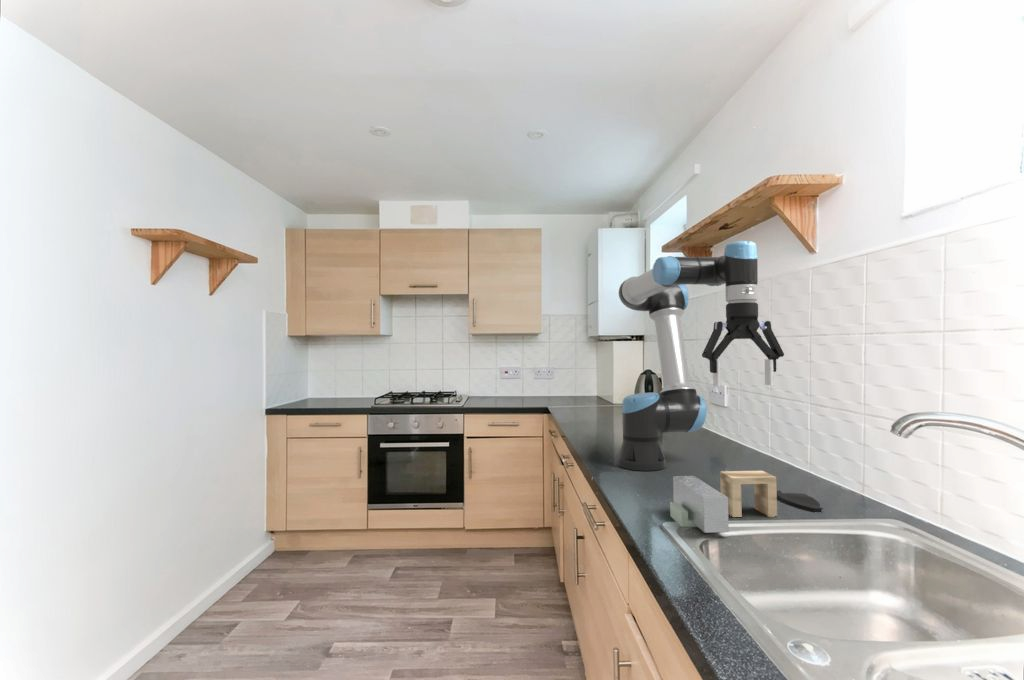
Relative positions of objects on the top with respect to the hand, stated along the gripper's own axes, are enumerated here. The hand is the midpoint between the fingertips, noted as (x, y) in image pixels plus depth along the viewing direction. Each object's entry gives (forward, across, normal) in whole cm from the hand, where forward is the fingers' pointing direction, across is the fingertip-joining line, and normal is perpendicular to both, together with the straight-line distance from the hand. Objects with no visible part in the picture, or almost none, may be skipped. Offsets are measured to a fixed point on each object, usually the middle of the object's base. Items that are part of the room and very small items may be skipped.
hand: (743, 385), depth 127 cm
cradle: (+29, -19, -15) cm, 38 cm away
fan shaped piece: (+29, +11, -4) cm, 32 cm away
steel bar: (+28, -19, -17) cm, 37 cm away
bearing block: (+29, -5, -11) cm, 31 cm away
